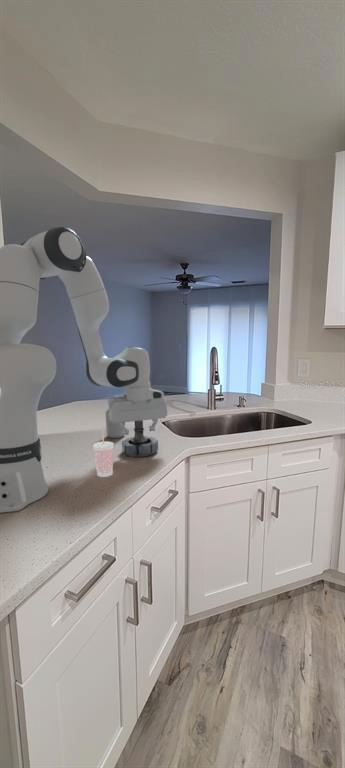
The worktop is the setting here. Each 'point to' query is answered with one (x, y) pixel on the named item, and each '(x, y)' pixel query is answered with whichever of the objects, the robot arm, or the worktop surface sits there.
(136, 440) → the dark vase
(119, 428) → the can
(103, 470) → the beverage cup
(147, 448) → the metal ring collar
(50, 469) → the worktop surface
